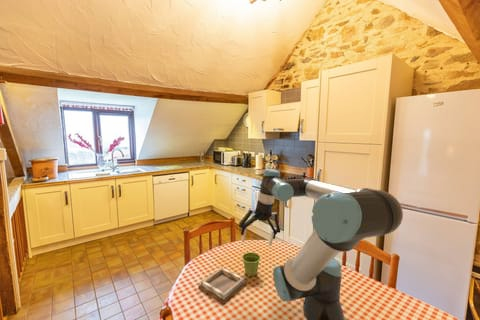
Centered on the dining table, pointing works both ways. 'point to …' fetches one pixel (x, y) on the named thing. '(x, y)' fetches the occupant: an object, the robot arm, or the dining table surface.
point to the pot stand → (222, 284)
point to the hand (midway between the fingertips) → (256, 242)
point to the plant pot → (251, 263)
